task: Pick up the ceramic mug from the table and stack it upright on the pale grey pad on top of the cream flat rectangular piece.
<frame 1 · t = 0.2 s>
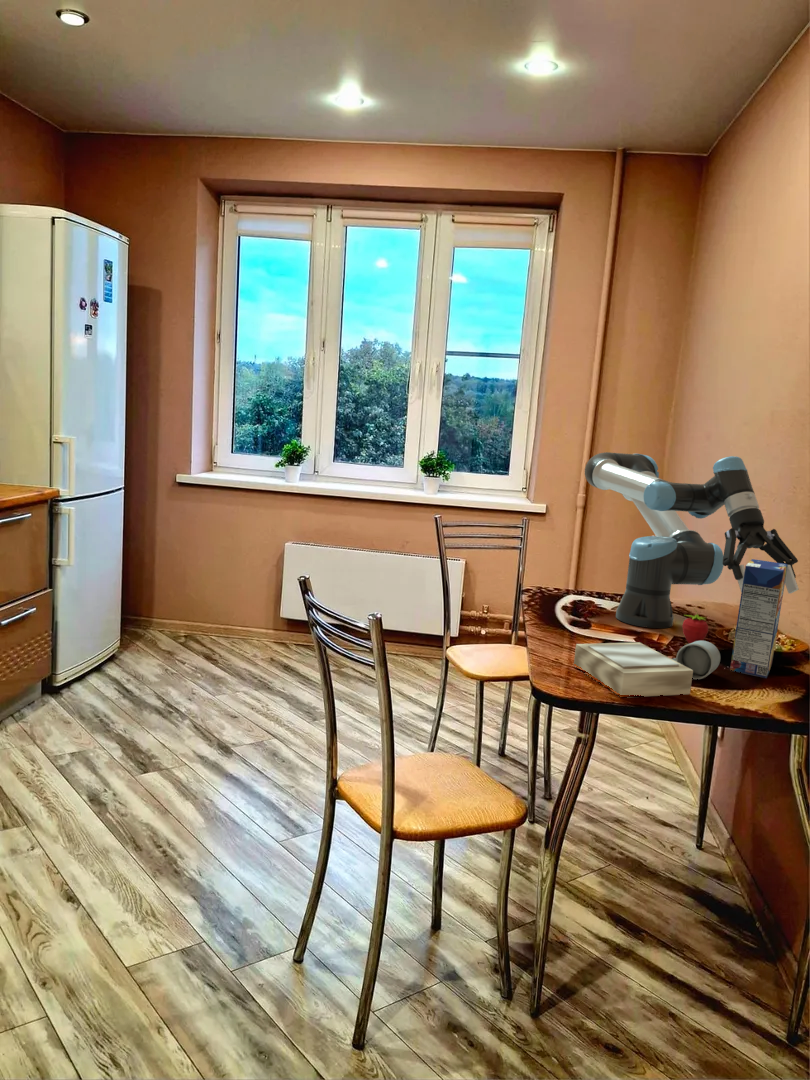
hand: (770, 591, 174), 16 cm above the table, tool tilted 35°, fingers open, 13 cm apart
ceramic mug: (690, 674, 158), on the table
juice carton: (751, 668, 165), on the table
strawberry: (692, 649, 176), on the table
cream flat rectangular piece: (629, 679, 151), on the table
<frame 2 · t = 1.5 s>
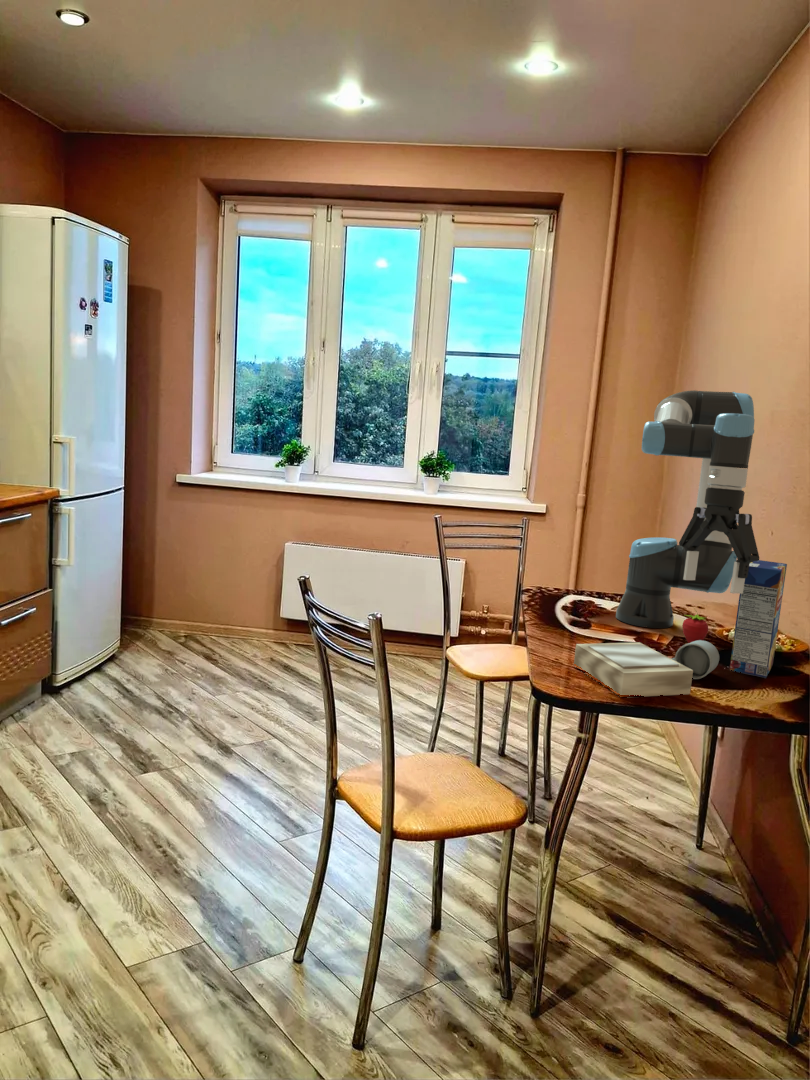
hand: (711, 586, 155), 20 cm above the table, tool pointing down, fingers open, 13 cm apart
nothing on the table moved.
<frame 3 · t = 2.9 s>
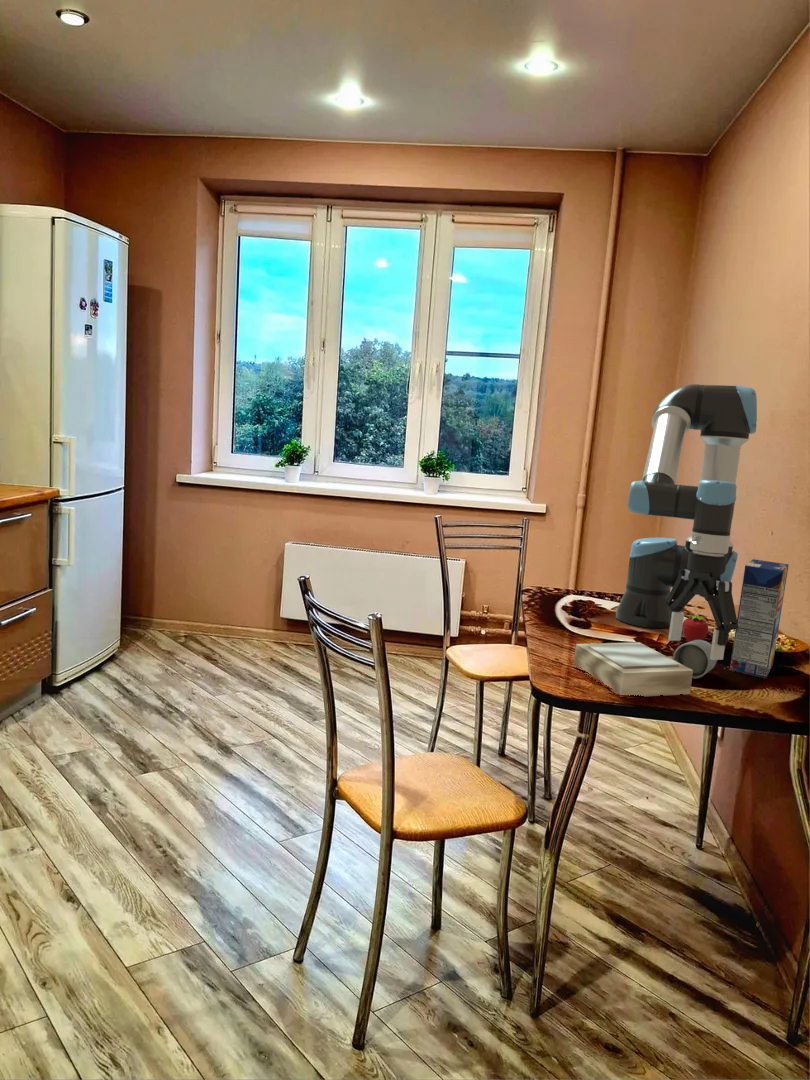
hand: (694, 649, 156), 6 cm above the table, tool pointing down, fingers open, 13 cm apart
nothing on the table moved.
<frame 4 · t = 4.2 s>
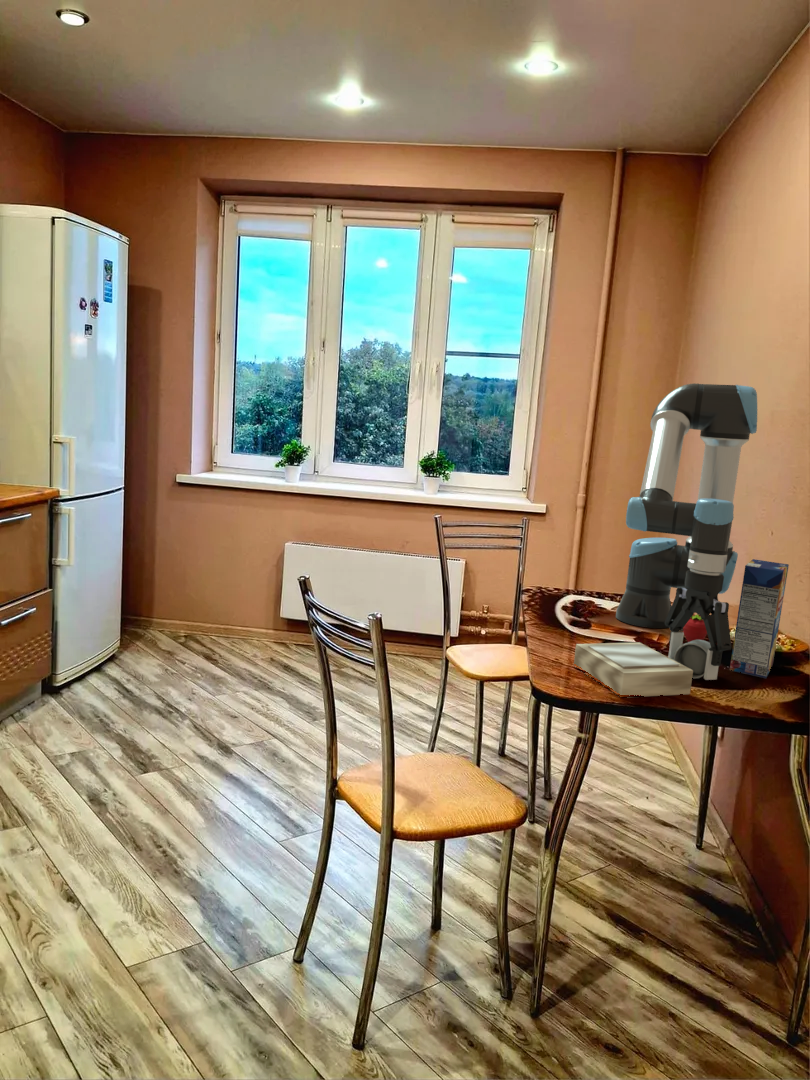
hand: (691, 669, 157), 1 cm above the table, tool pointing down, fingers closed on ceramic mug, 11 cm apart
ceramic mug: (687, 673, 158), on the table, touching gripper
everything else where it was.
when the fingers open (8 cm above the table, at t = 10.6 s): ceramic mug drops 1 cm, resting on cream flat rectangular piece.
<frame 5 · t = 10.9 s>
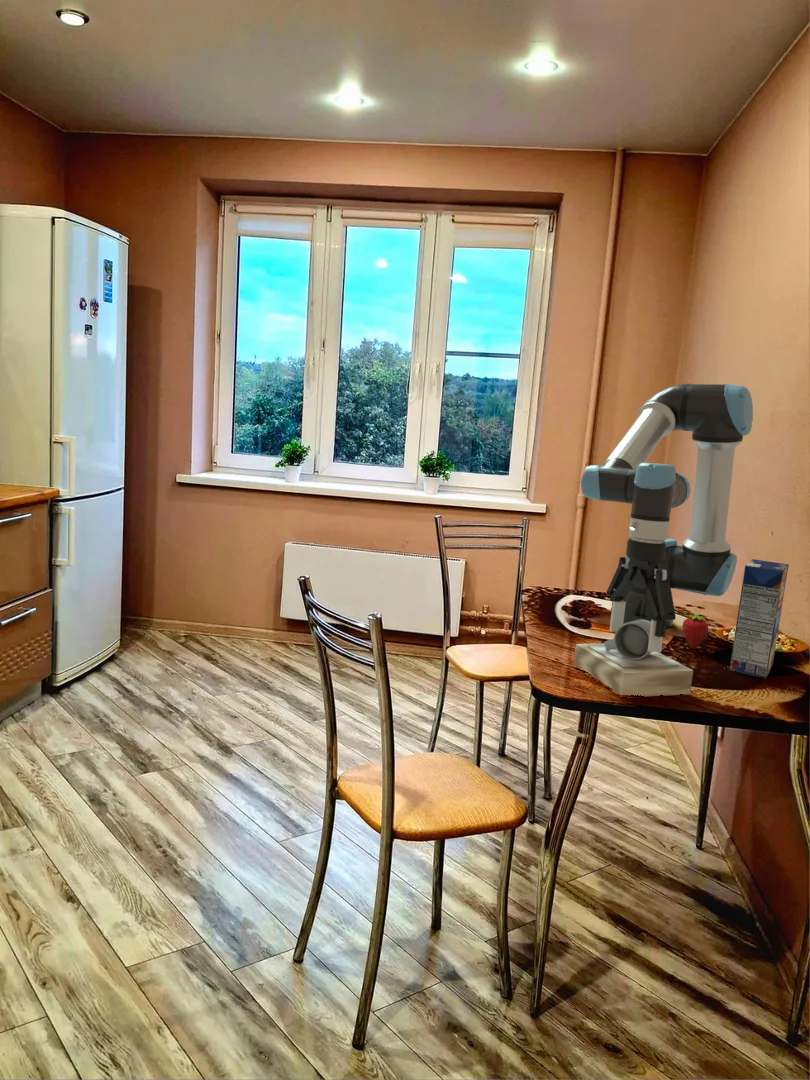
hand: (634, 640, 149), 8 cm above the table, tool pointing down, fingers open, 13 cm apart
ceramic mug: (629, 655, 150), point 5 cm above the table, touching cream flat rectangular piece
everything else where it was.
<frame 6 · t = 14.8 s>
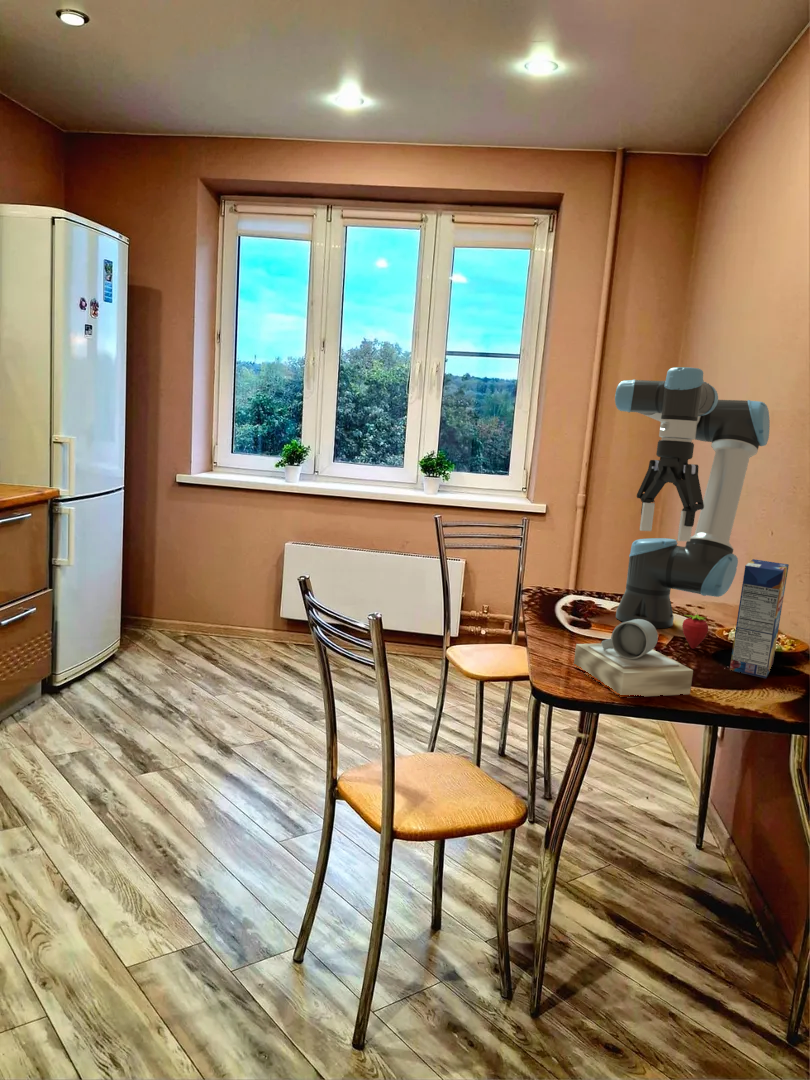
hand: (663, 535, 161), 29 cm above the table, tool pointing down, fingers open, 13 cm apart
nothing on the table moved.
at the end: ceramic mug inside the target area on the cream flat rectangular piece (1.1 cm from its centre), point 5.2 cm above the cream flat rectangular piece's base; ceramic mug tilted 1°; the gripper is holding nothing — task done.
